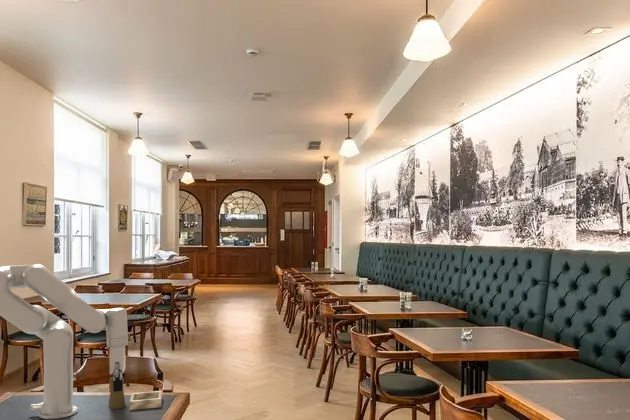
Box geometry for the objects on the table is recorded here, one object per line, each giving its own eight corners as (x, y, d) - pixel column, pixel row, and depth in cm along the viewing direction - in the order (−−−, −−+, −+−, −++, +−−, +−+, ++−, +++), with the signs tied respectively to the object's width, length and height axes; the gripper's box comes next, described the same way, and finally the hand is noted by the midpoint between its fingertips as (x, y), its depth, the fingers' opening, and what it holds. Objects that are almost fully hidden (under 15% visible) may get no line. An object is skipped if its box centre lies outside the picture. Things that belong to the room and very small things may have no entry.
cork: (119, 409, 201) (119, 378, 202) (104, 408, 202) (104, 378, 203) (128, 404, 207) (128, 374, 207) (114, 403, 208) (113, 373, 209)
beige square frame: (129, 409, 200) (129, 401, 200) (131, 401, 210) (131, 393, 210) (161, 407, 202) (161, 398, 202) (161, 398, 213) (161, 390, 213)
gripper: (109, 338, 213) (111, 382, 213) (104, 347, 197) (106, 395, 196) (129, 336, 215) (131, 380, 215) (126, 344, 198) (128, 392, 198)
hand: (119, 387), depth 205 cm, fingers open, 9 cm apart
